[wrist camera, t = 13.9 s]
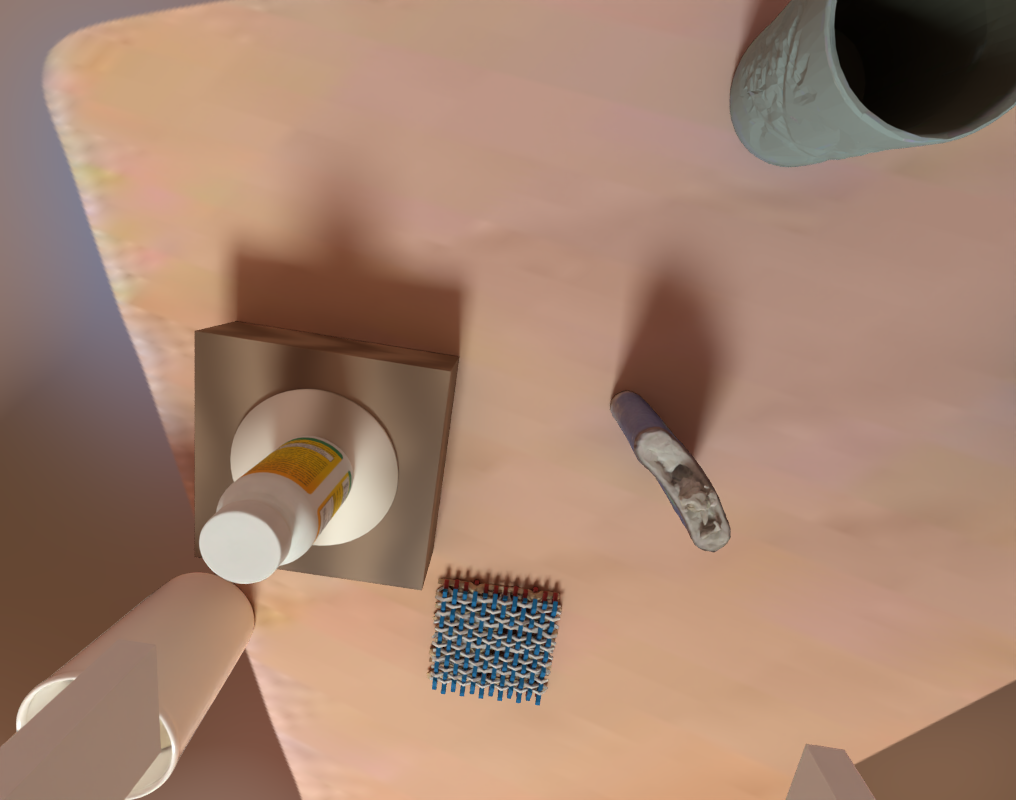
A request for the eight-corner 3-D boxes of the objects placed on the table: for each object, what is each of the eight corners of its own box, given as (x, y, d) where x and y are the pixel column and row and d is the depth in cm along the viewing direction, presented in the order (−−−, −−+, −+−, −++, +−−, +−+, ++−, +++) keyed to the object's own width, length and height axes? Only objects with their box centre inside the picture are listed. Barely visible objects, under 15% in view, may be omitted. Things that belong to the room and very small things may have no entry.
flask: (602, 401, 39) (634, 455, 28) (636, 379, 38) (682, 425, 28) (665, 496, 41) (717, 579, 30) (699, 476, 40) (763, 553, 30)
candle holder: (197, 680, 46) (89, 823, 34) (122, 594, 44) (-20, 717, 32) (288, 633, 44) (207, 766, 33) (215, 542, 42) (102, 651, 31)
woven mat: (565, 584, 43) (567, 600, 41) (545, 689, 46) (547, 708, 44) (438, 569, 43) (435, 584, 41) (427, 675, 46) (423, 693, 44)
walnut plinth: (459, 356, 38) (450, 372, 33) (432, 551, 42) (421, 592, 37) (236, 321, 37) (191, 331, 32) (232, 522, 42) (192, 559, 37)
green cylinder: (709, 26, 32) (816, -102, 21) (879, -22, 31) (1089, -182, 20) (730, 198, 35) (836, 169, 23) (888, 158, 34) (1080, 107, 22)
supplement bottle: (368, 494, 35) (314, 579, 26) (295, 519, 36) (217, 611, 26) (333, 421, 34) (264, 484, 24) (259, 448, 34) (163, 519, 25)
